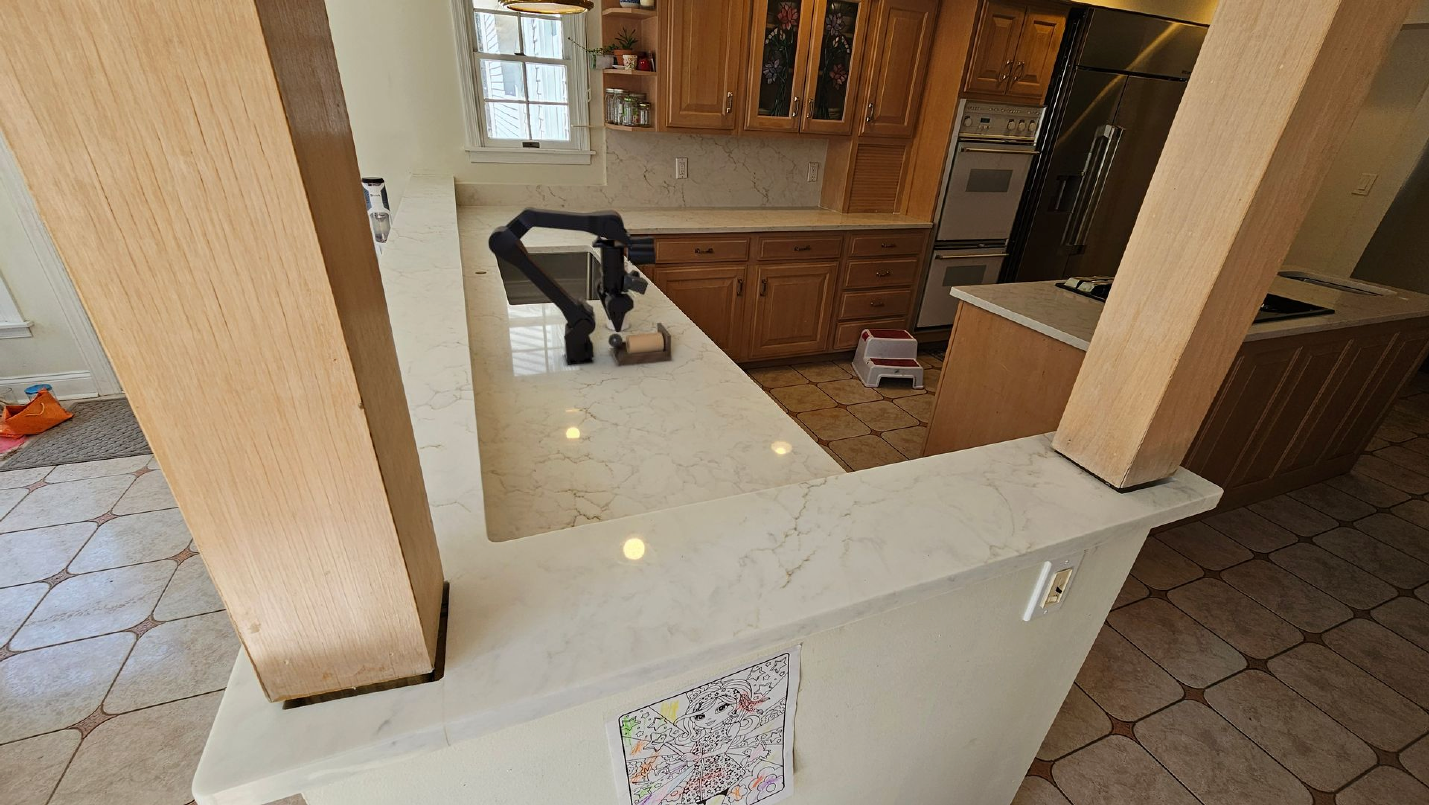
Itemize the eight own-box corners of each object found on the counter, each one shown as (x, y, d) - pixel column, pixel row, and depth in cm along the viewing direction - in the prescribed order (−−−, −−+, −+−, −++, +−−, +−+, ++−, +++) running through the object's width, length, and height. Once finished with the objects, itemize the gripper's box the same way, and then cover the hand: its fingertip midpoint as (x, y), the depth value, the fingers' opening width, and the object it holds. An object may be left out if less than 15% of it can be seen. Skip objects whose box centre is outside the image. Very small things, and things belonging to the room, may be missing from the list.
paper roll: (629, 357, 158) (629, 340, 155) (625, 349, 162) (625, 332, 159) (663, 354, 161) (664, 337, 158) (658, 345, 165) (659, 329, 162)
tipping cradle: (613, 366, 155) (612, 340, 152) (605, 351, 163) (604, 327, 160) (670, 360, 160) (671, 335, 156) (660, 346, 168) (660, 322, 165)
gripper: (654, 273, 143) (654, 336, 150) (636, 254, 159) (636, 311, 166) (607, 276, 140) (609, 339, 147) (593, 256, 155) (595, 314, 162)
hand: (614, 325), depth 155 cm, fingers open, 9 cm apart
